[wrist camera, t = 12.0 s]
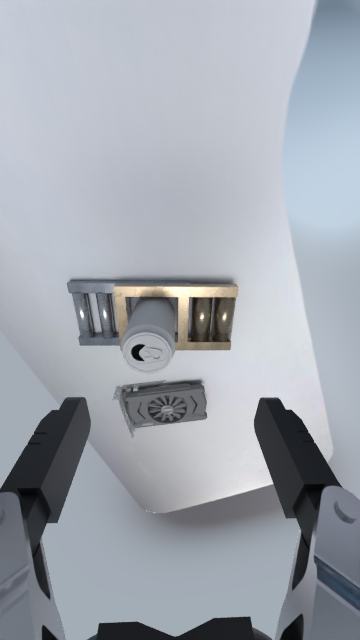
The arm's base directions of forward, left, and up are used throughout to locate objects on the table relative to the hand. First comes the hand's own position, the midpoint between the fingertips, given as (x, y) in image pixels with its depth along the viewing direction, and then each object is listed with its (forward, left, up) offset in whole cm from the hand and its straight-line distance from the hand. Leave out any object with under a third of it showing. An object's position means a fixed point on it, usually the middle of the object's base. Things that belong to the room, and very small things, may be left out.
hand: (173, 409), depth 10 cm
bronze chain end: (+7, +1, -26) cm, 27 cm away
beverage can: (+7, -3, -26) cm, 27 cm away
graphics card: (+27, -2, -27) cm, 38 cm away
